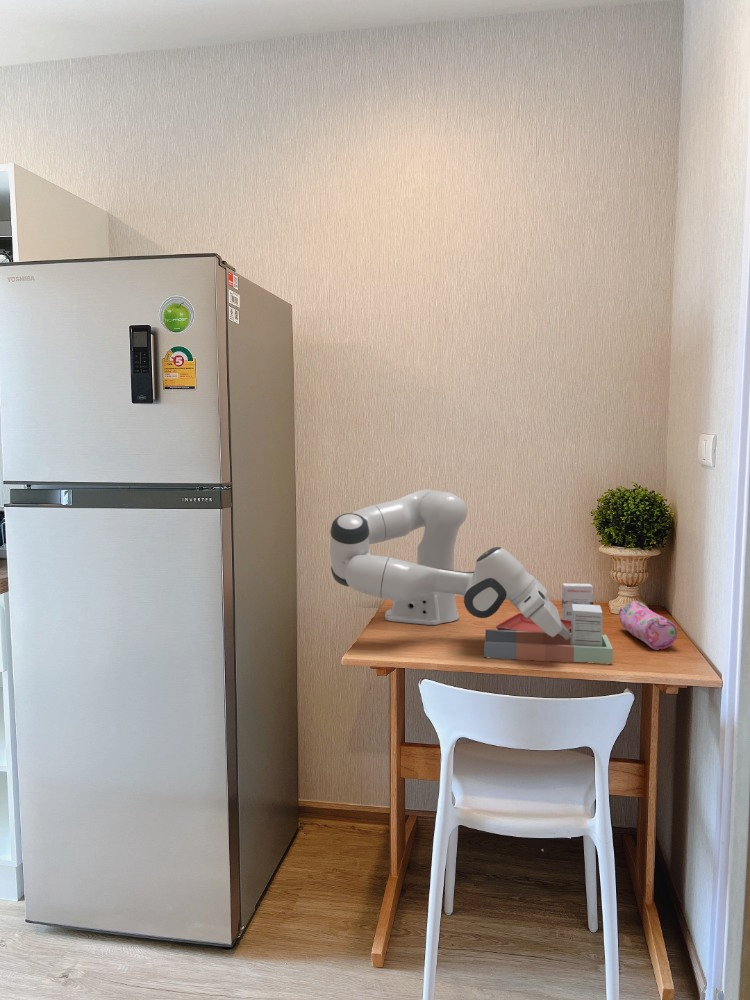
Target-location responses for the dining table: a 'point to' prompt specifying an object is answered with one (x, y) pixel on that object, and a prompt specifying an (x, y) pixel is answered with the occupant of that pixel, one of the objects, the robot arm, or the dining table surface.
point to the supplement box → (586, 625)
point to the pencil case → (648, 625)
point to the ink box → (575, 597)
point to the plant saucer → (525, 624)
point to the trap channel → (542, 647)
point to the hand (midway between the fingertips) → (568, 636)
